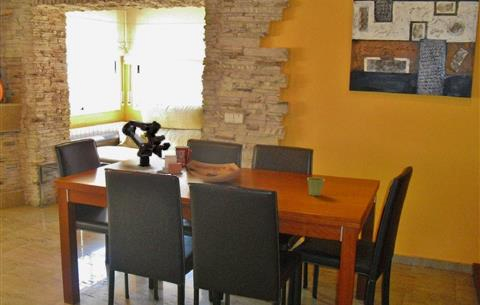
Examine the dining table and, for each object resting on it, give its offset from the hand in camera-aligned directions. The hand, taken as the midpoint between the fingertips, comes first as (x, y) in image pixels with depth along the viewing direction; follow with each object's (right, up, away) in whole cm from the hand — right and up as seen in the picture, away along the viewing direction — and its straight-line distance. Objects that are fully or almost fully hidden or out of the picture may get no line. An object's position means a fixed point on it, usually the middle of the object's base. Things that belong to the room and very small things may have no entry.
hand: (161, 157), depth 313 cm
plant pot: (+91, -20, -50) cm, 105 cm away
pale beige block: (+7, -8, -7) cm, 13 cm away
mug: (+12, -6, +17) cm, 22 cm away
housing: (+7, -10, -6) cm, 13 cm away
